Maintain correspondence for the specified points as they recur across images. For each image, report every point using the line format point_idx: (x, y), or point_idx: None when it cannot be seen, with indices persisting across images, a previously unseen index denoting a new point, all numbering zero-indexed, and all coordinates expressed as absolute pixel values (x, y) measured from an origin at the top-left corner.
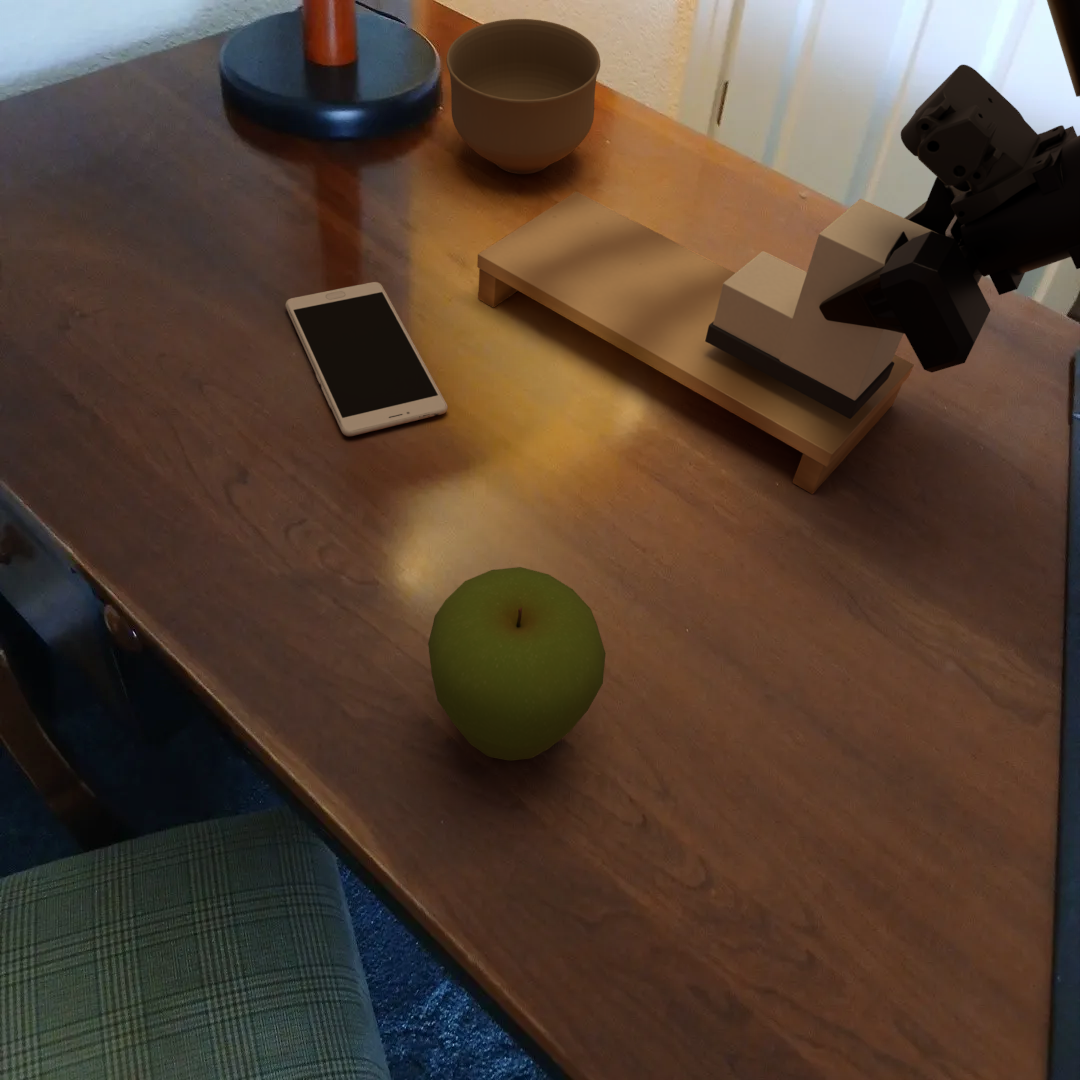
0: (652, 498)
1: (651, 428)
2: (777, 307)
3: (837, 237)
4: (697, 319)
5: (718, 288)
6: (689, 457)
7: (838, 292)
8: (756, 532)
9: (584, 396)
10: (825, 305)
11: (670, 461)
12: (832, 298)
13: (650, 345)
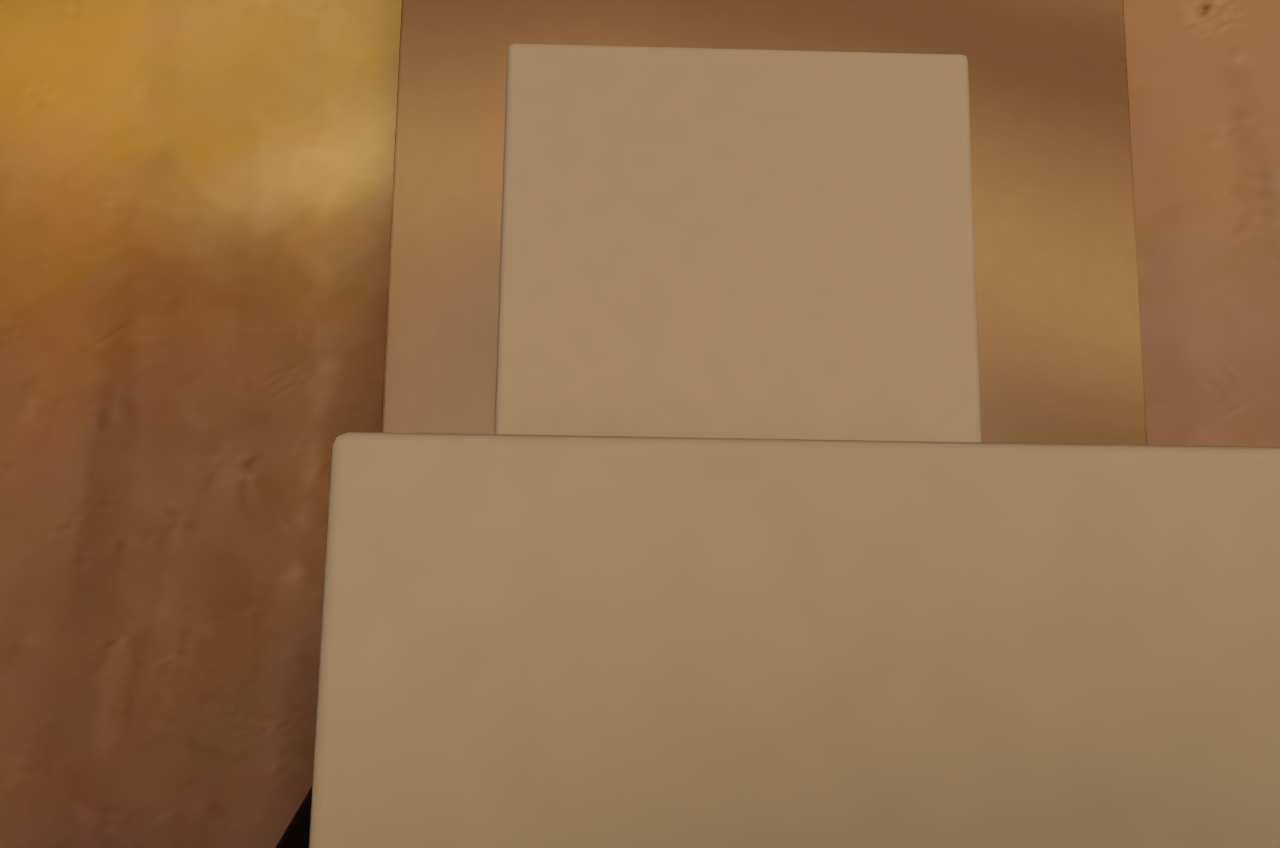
0: (14, 455)
1: (312, 264)
2: (521, 401)
3: (417, 650)
4: None
5: (970, 37)
6: (275, 444)
7: None
8: (103, 827)
9: (294, 4)
10: None
11: (213, 404)
12: (294, 827)
13: (434, 27)
